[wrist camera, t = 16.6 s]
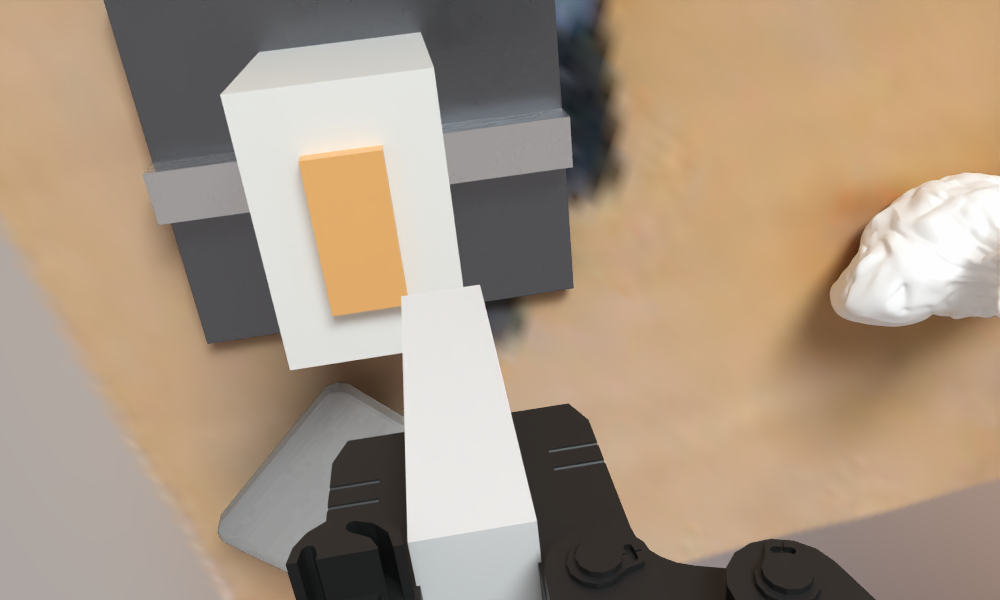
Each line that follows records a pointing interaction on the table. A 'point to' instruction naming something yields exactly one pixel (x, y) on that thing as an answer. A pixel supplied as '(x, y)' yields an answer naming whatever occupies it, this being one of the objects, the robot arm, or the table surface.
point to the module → (345, 190)
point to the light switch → (301, 474)
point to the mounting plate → (464, 117)
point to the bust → (927, 256)
